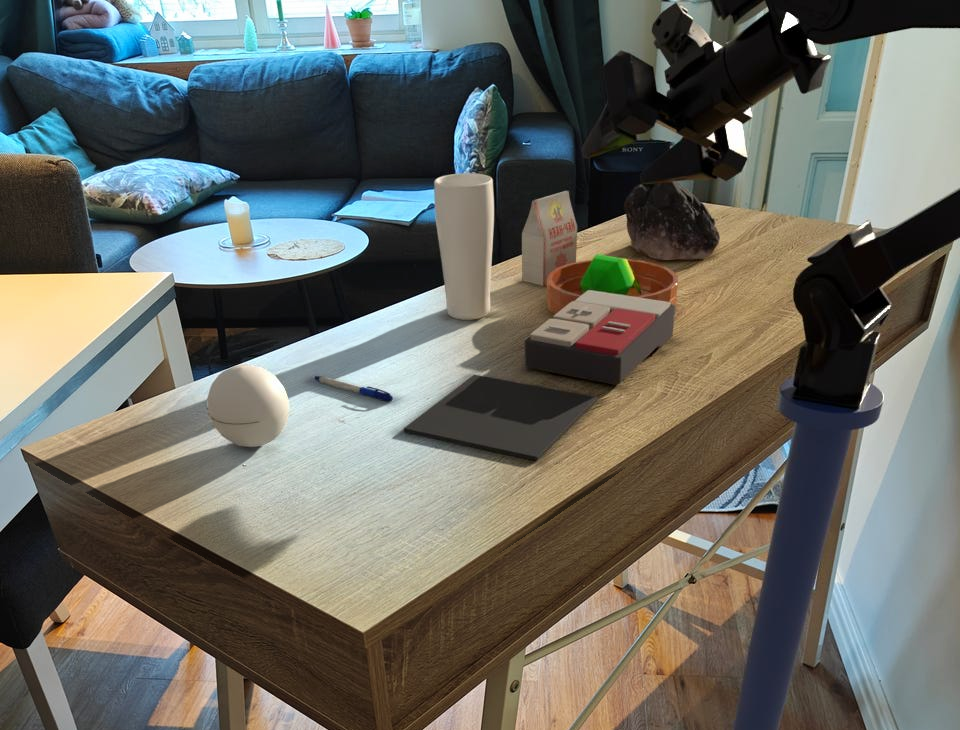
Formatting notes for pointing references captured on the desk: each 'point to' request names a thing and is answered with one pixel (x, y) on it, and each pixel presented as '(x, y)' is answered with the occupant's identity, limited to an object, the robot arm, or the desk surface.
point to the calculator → (600, 336)
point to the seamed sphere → (248, 405)
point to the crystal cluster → (669, 223)
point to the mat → (502, 416)
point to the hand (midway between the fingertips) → (613, 166)
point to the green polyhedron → (609, 276)
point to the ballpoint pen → (356, 388)
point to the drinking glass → (465, 241)
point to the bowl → (652, 284)
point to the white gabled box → (548, 237)
